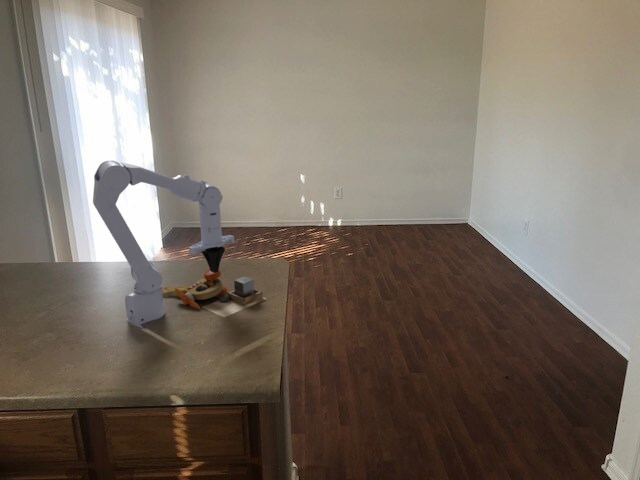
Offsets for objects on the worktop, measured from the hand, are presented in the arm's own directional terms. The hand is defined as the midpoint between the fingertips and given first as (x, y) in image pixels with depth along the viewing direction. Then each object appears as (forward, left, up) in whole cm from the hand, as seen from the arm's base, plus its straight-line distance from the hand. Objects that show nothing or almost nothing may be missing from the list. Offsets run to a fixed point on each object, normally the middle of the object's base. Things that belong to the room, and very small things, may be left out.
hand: (214, 271), depth 148 cm
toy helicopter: (+2, +9, -6) cm, 11 cm away
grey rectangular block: (+6, -6, -9) cm, 12 cm away
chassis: (+2, -6, -10) cm, 12 cm away
